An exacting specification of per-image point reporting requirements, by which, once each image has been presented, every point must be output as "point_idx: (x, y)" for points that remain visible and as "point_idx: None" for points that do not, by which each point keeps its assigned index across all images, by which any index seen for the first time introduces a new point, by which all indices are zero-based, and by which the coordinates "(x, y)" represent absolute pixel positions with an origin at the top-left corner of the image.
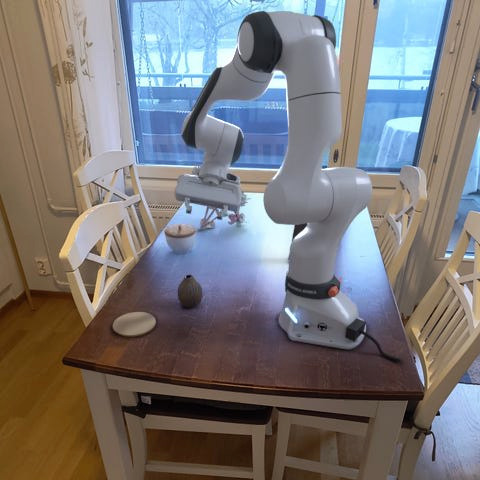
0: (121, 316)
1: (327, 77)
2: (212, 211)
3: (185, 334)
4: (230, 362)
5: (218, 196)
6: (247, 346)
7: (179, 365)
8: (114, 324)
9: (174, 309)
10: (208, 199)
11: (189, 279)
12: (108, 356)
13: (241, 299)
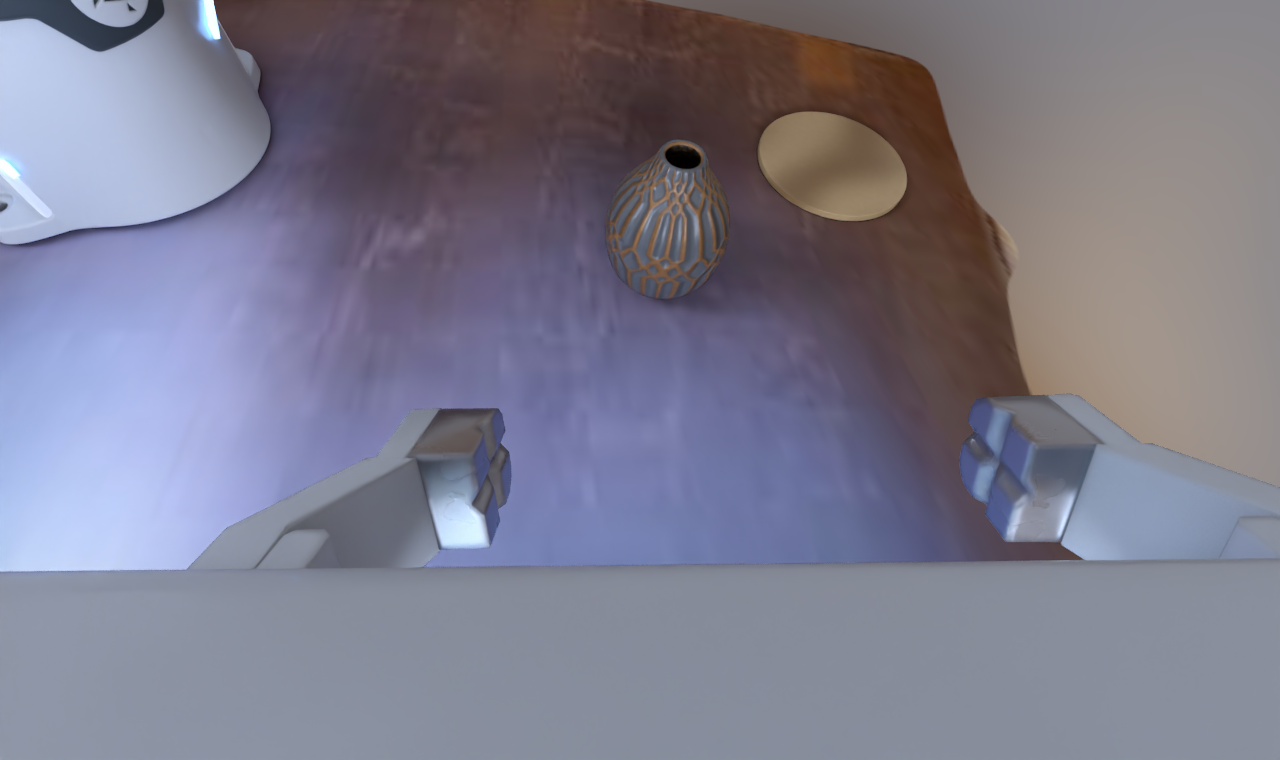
0: (898, 193)
1: None
2: None
3: (639, 115)
4: (485, 16)
5: (385, 730)
6: (424, 58)
7: (629, 20)
8: (895, 157)
9: None
10: (749, 569)
11: (674, 142)
12: (831, 59)
13: (408, 304)
